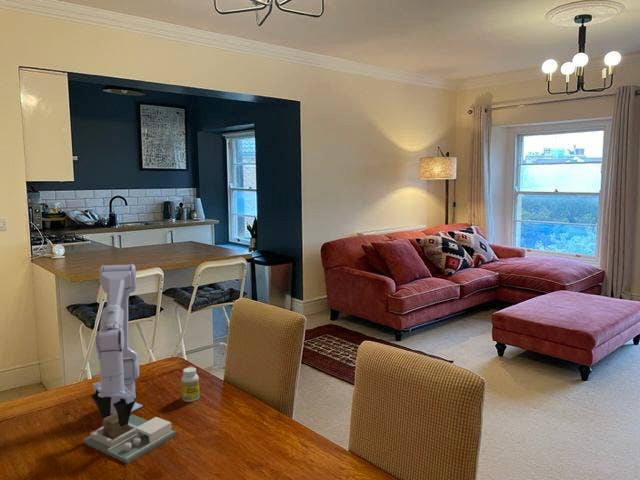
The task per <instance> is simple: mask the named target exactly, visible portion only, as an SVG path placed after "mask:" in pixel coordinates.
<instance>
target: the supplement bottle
mask: <svg viewBox="0 0 640 480" xmlns="http://www.w3.org/2000/svg"><path fill="white" fill-rule="evenodd" d="M182 371H183V373H182V374H183V375H182V377H181V380H180V382H181V399H182V400H183V401H184V402H190V403H191V402H195V401H197V400H198V399H199V398H200V383H199V382H200V377H199V375H198V374H197V368H196V367H186V368H184V369H183V370H182Z"/></svg>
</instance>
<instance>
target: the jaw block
mask: <svg viewBox="0 0 640 480" xmlns="http://www.w3.org/2000/svg"><path fill="white" fill-rule="evenodd" d="M102 423H103V425H102V427H104V436H106V437H108V438H110V439H112V440H113V439H114V438H116V437H118V436H120V435H122V434H124V433H126V432H128V431H129V426H128V424H127V425H125V426H123V427H121V426H120V425H119V420H118V414H117V413H115V414H110V416H108V417H106V418H104V419H102Z"/></svg>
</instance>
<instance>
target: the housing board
mask: <svg viewBox="0 0 640 480" xmlns="http://www.w3.org/2000/svg"><path fill="white" fill-rule="evenodd" d="M147 421H149V420H147V419H145V418H143V417H140V416H137V415H135V414H130V417H129V421H128V426H129V431H128V432H126V433H124V434H122V435H120V436H118V437H116V438H114V439H113V440H112V439H110V438H108V437H106V436H104V427H103V426H100V427H99V428H97V429H95V430H93V431H91V432H90V433H89V436H86V437H85V438H83V439H82V443H83V444H85V445H87V446H89V447H91V448H93V449H95V450H98V451H99V452H101V453H103V454H106V455H107V456H110V457H112V458H114V459H116V460H118V461H121V462H122V463H125V464H127V465H128V464H130V463H132V462H134V461H135V460H137V459H139V458H140V457H141V456H143V455H145V454H146V453H149V452H151V451H152V450H153V449H154V450H155V448H157V447H158V446H161V445H162V444H163V443H165V442H167V441H169V440H170V439H172V438H174V437H175V436H177V431H176V430H173V429H172V431H171V432H169V433H167V434H166V435H164V436H162V437H161V438H159V439H157V440H155V441H154V442H152V443H149V436H148V435H143V436H141V437H136V430H135V428H136V427H138V426H140V425H142V424H143V423H145V422H147Z"/></svg>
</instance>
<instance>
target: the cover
mask: <svg viewBox="0 0 640 480" xmlns="http://www.w3.org/2000/svg"><path fill="white" fill-rule="evenodd" d="M135 430H136V437H141V436H143V435H148V436H149V443H152V442H154V441H155V440H157V439H159V438H161V437H162V436H164V435H166V434H167V433H169V432H171V431H172V430H173V428H172V422H171V421H169V420H166V419H163V418H160V417H158V416H155V417H153V418H151V419H149V420H148V421H147V422H145V423H143V424H142V425H140V426H138V427H136V428H135Z"/></svg>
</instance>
